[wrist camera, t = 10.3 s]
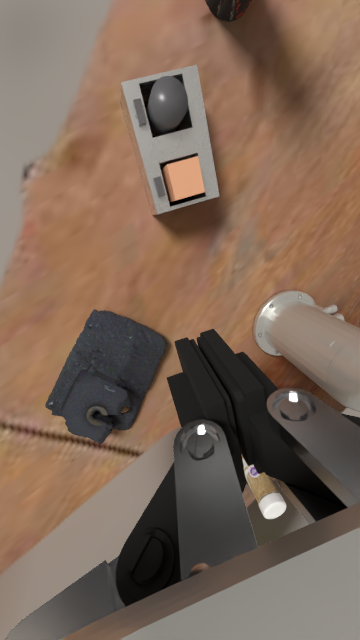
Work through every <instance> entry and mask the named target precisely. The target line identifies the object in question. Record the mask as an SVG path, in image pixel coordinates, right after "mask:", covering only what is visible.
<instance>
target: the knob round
mask: <svg viewBox="0 0 360 640" xmlns="http://www.w3.org/2000/svg"><path fill="white" fill-rule="evenodd" d="M187 108H188V96H187V93H186V90H185V88H184V86H183V85H182V83H181V82H180V81H179V80H178V79H176V78H174V77H172V76H164V77H161V78H159V79H158V80H157V81H156V82H155V83H154V85H153V87H152V90H151V94H150V98H149V101H148V105H147V109H146V114H147V118H148V122H149V126H150V129H151V133H152V134H153V135H155V136H157V137H158V136H162V135H166V134H169V133H173V132H174V131H175V130H176V128H177V127H178V125H179V124H180V122H181V120H182V119H183V117H184V116H185V114H186V112H187Z"/></svg>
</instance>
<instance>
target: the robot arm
mask: <svg viewBox="0 0 360 640" xmlns="http://www.w3.org/2000/svg"><path fill="white" fill-rule="evenodd" d="M336 311H337V307H336V305H334V304H332V305H330V306H327V307H325V308H322V307H320V306H317V305H316V303H315V301H314V300H313V299H312V297H310V296H309V295H308V294H306V293H303V292H301V291H297V290H288V291H283V292H281V293H278V294H276V295H274V296H273V297H271V298H270V299H269V300H268V301H267V302H266V303H265V304H264V305H263V306H262V307H261V309H260V310H259V312H258V314H257V316H256V318H255V322H254V327H253V334H254V338H255V341H256V343H257V345H258V346H259V347H260V348H261V349H262V350H263V351H265V352H266V353H268V354H270V355H274V356H284V357H285V358H286V359H287V360H288V361H290V362H291V363H292V364H293V365H294V366H296V367H297V368H298V369H299V370H300V371H302V372H303V373H304V374H305V375H306V376H308V377H309V378H310V379H311V380H312V381H314V382H315V383H316V384H317V385H318V386H320V387H321V388H322V389H323V390H324V391H326V392H327V393H328V394H329V395H330V396H332V397H333V398H334V399H335V400H336V401H338V402H339V403H341V404H342V405H344V406H346V407H347V408H350V409H353V410H355V411H359V412H360V328H358V327H356V326H354V325H352V324H350V323H347V322H345V321H344V317H343V316H342V315H341V314H339V313H338V314H335V315H330V314H331V313H334V312H336ZM200 336H201V337H198V338H197V343H198V346H197V344H196V343H195V341H194V339H192V340H189V339H188V338H184V339H180V340H177V341H175V346H176V349H177V353H178V356H179V360H180V363H181V367H182V370H183V372H182V373H179V374H176V375H173V376H170V377H167V381H168V384H169V387H170V391H171V394H172V397H173V401H174V404H175V407H176V411H177V414H178V417H179V421H180V424H181V427H182V428H181V429H180V430H179V431H178V433H177V434H176V436H175V439H174V444H173V452H174V463H173V465H172V466H171V468H170V470H169V471H168V473H167V475H166V476H165V478H164V480H163V481H162V483H161V484H160V486H159V488H158V489H157V491H156V493H155V495H154V496H153V498H152V499H151V501H150V503H149V504H148V506H147V508H146V509H145V511H144V513H143V514H142V516H141V518H140V519H139V521H138V523H137V524H136V526H135V528H134V529H133V531H132V532H131V534H130V536H129V537H128V539H127V541H126V542H125V544H124V546H123V548H122V550H121V553H120V555H119V556H118V557H116V558H115V559H114V560H112V561H111V562H110V563H107V562H106V560H105V561H103V562H102V563H100V564H99V565H98V566H96V567H95V568H93V569H92V570H91V571H89V572H88V573H86V574H85V575H84V576H82V577H81V578H79V579H78V580H77V581H75V582H74V583H72V584H71V585H70V586H68V587H67V588H66V589H64V590H63V591H62V592H60V593H59V594H57V595H56V596H54V597H53V598H52V599H50V600H49V601H47V602H46V603H45V604H43V605H42V606H40V607H39V608H38V609H36V610H35V611H33V612H32V613H31V614H29V615H28V616H26V617H25V618H24V619H22V620H21V621H20V622H19V623H18V624H17V625H16V626H15V627H14V628H13V629H12V630H11V631H10V632H9V633H8V635H7V636H6V637H5V639H4V640H360V418H359V417H355V416H350V415H345V414H341V413H339V412H337V411H336V410H335V409H333V408H332V407H330V406H329V405H327V404H326V403H325V402H323V401H322V400H320V399H319V398H317V397H316V396H315V395H313V394H311V393H309V392H308V391H306V390H302V389H299V388H282V389H280V390H279V389H278V388H277V387H276V386H275V385H274V384H273V383H272V382H271V380H270V379H269V378H268V377H267V376H266V375H265V374H264V373H263V372H262V371H261V370H260V369H259V368H258V367H257V366H256V364H255V363H254V362H253V361H252V360H251V359H250V358H249V357H248V356H247V355H246V354H245V353H244V352H240V353H237V354H235V353H234V352H233V351H232V350H231V349H230V347H229V346H228V345H227V344H226V343H225V342H224V340H223V339H222V338H221V337H220V336H219V335H218V333H217V332H216V331H215V330H214V329H211V330H208V331H205V332H202V333H200ZM241 454H242V455H241ZM242 456H243V458H244V460H245V462H246V463H247V465H248V466H250V465H254V467H255V469H256V471H257V472H258V474H261V473H263V472H265V474H266V475H268V476H271V477H273V478H276V481H277V483H278V484H279V486H280V488H281V489H282V490H283V492H284V493H285V494H286V495H287V497H288V498H289V499H290V501H291V502H292V503H293V504H294V506H295V507H296V508H297V509H298V510H299V512H300V513H301V515H302V516H303V517H304V518H305V520H306V521H307V522H308V523H309V525H307V526H305V527H303V528H301V529H298V530H296V531H294V532H291V533H289V534H287V535H285V536H283V537H280V538H278V539H276V540H273V541H271V542H269V543H266V544H264V545H262V546H260V547H258V546H257V543H256V539H255V536H254V533H253V529H252V526H251V523H250V519H249V516H248V512H247V509H246V505H245V502H244V498H243V495H242V494H243V491H244V488H245V485H246V478H245V473H244V465H243V460H242Z"/></svg>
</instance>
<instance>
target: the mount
mask: <svg viewBox="0 0 360 640" xmlns="http://www.w3.org/2000/svg"><path fill="white" fill-rule="evenodd" d="M164 76H172V77H174V78H176V79H178V80H179V81H180V82H181V83H182V85H183V86H184V88H185V90H186V93H187V96H188V108H187V112H186V114H185V116H184V117H183V119H182V120H181V122H180V124H179V128H180V131H177V132H173V133H169V134H166V135H162V136H158V137H154V138H153V137H152V133H151V129H150V126H149V122H148V118H147V114H146V110H145V106H144V102H146V101H149V98H150V94H151V90H152V87H153V85H154V83H155V82H156V81H157V80H158V79H159V78H161V77H164ZM120 103H121V107H122V110H123V114H124V117H125V121H126V124H127V128H128V131H129V135H130V138H131V142H132V145H133V149H134V152H135V156H136V159H137V163H138V166H139V170H140V173H141V177H142V180H143V184H144V188H145V191H146V195H147V198H148V202H149V205H150V209H151V212H152V215H157V214H161V213H164V212H168V211H171V210H174V209H178V208H181V207H185V206H188V205H191V204H195V203H198V202H202V201H205V200H208V199H212V198H215V197H219V190H218V184H217V178H216V172H215V167H214V161H213V155H212V149H211V143H210V138H209V132H208V126H207V120H206V115H205V109H204V103H203V97H202V91H201V86H200V80H199V74H198V68H197V65H194V66H189V67H185V68H181V69H176V70H172V71H168V72H163V73H159V74H155V75H151V76H146V77H142V78H138V79H133V80H129V81H125V82H121V102H120ZM197 156H198V158H199V163H200V168H201V174H202V179H203V184H204V189H205V192H203V193H200V194H196V195H194V200H190V201H187V202H183V203H180V204H176V205H173V206H170V204H169V200H168V196H167V193H166V189H165V185H164V181H163V177H162V173H161V169H162V168H164V167H165V166H166V165H167V164H171V163H175V162H178V161H182V160H186V159H189V158H193V157H197Z"/></svg>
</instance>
